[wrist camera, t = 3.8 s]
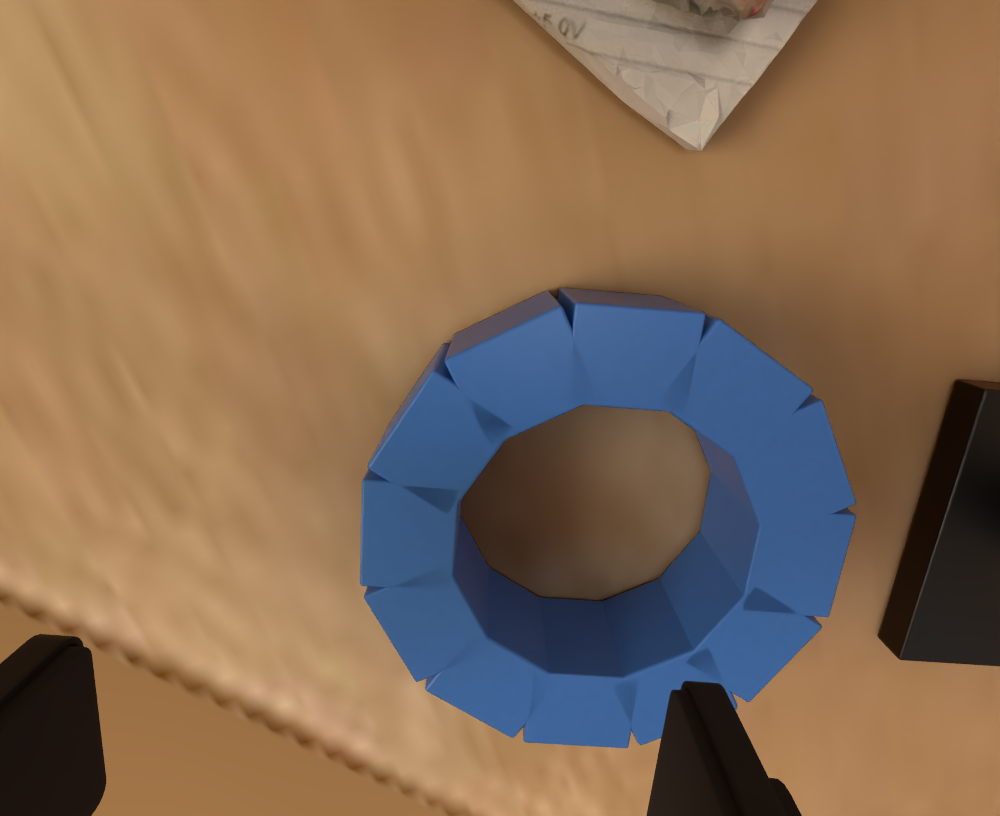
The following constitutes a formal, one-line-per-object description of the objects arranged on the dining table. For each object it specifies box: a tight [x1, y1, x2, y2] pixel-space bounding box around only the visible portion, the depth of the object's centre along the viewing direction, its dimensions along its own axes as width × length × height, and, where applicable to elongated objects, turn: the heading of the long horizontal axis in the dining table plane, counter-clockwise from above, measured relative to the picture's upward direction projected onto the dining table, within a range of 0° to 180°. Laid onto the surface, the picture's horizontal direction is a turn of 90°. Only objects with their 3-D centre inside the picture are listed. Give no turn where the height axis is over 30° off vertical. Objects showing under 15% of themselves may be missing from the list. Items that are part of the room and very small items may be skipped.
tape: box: [360, 288, 856, 748], centre depth 17 cm, size 12×12×4 cm
